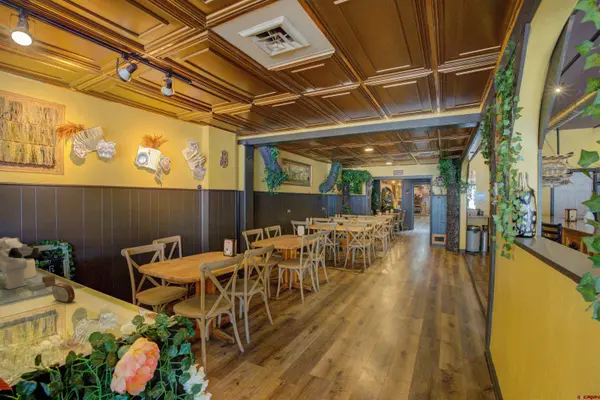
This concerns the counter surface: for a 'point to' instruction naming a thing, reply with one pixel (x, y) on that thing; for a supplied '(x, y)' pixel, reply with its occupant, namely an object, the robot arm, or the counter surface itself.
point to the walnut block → (48, 280)
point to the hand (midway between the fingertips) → (29, 256)
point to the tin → (63, 292)
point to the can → (30, 269)
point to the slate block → (37, 286)
